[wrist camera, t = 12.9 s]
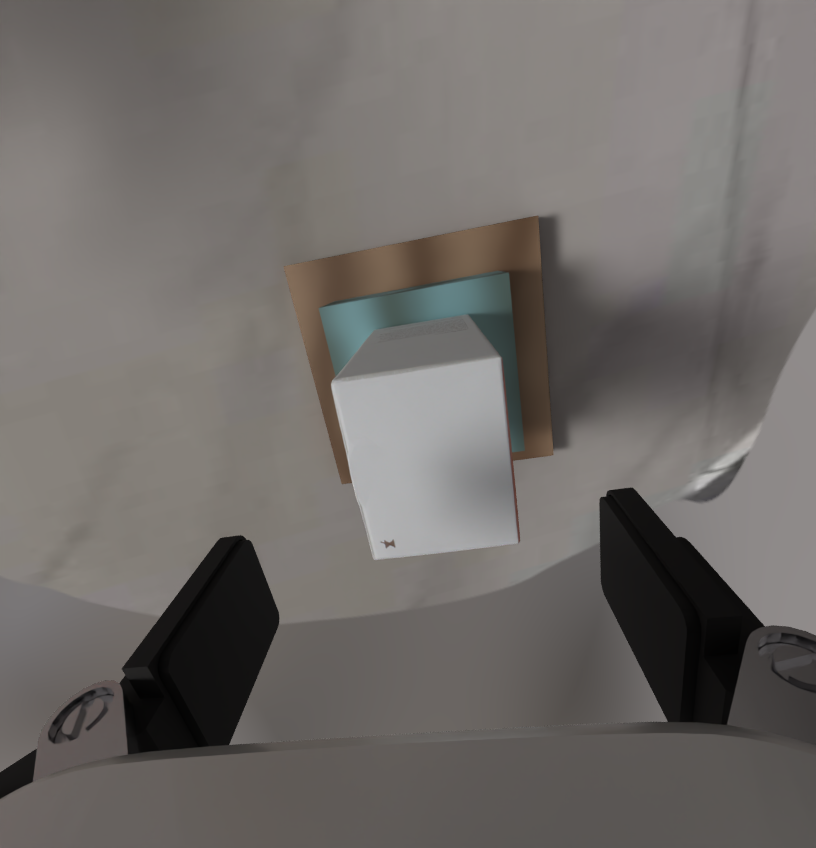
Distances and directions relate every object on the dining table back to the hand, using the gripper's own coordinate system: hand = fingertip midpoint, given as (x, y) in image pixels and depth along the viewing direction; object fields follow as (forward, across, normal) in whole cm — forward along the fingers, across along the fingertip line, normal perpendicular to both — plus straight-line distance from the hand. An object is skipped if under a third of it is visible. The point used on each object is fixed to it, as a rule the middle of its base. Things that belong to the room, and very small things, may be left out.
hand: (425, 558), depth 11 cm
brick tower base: (+24, 0, 0) cm, 24 cm away
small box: (+18, 0, 0) cm, 18 cm away
